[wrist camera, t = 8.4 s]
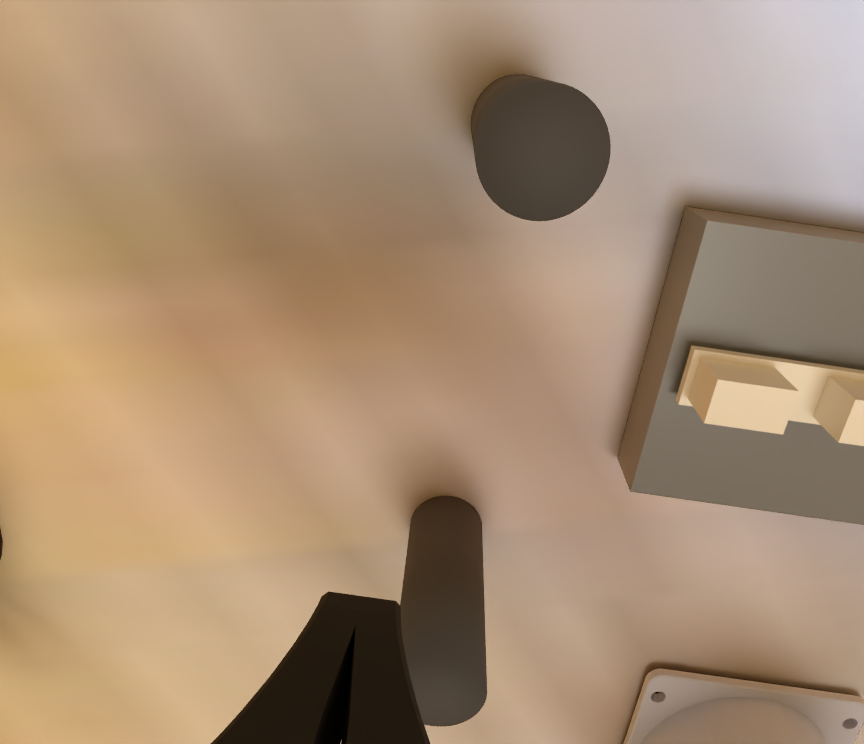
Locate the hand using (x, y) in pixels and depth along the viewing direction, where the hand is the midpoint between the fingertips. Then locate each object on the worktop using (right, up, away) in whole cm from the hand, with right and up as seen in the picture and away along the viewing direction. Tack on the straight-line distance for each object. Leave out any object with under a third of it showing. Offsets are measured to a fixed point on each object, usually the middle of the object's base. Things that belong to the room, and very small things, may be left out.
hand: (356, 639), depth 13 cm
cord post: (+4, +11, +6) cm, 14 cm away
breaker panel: (+13, +5, +9) cm, 16 cm away
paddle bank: (+13, +4, +6) cm, 15 cm away
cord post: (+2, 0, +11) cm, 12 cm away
